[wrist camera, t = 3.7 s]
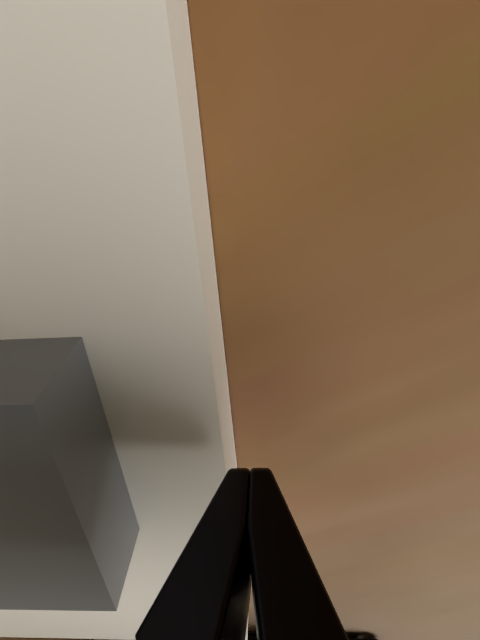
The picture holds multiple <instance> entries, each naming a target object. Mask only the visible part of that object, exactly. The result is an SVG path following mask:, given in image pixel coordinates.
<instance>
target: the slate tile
mask: <svg viewBox="0 0 480 640" xmlns="http://www.w3.org/2000/svg"><path fill="white" fill-rule="evenodd" d="M139 529H140V528H139V525H138V521H137V518H136V515H135V512H134V508H133V505H132V502H131V498H130V495H129V492H128V488H127V485H126V482H125V478H124V475H123V472H122V468H121V465H120V462H119V458H118V455H117V452H116V449H115V445H114V442H113V439H112V435H111V432H110V429H109V425H108V422H107V419H106V415H105V412H104V409H103V405H102V402H101V399H100V396H99V392H98V389H97V386H96V382H95V379H94V376H93V372H92V369H91V366H90V362H89V359H88V356H87V352H86V349H85V346H84V342H83V339H82V337H61V338H34V339H8V340H0V610H63V611H117V608H118V604H119V600H120V597H121V593H122V590H123V586H124V583H125V579H126V576H127V572H128V568H129V565H130V561H131V558H132V554H133V551H134V547H135V544H136V540H137V536H138V533H139Z"/></svg>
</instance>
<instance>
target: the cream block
mask: <svg viewBox="0 0 480 640" xmlns="http://www.w3.org/2000/svg"><path fill="white" fill-rule="evenodd" d="M61 337H82V339H83V342H84V346H85V349H86V352H87V356H88V359H89V362H90V366H91V369H92V372H93V376H94V379H95V382H96V386H97V389H98V392H99V396H100V399H101V402H102V405H103V409H104V412H105V415H106V419H107V422H108V425H109V429H110V432H111V435H112V439H113V442H114V445H115V449H116V452H117V455H118V458H119V462H120V465H121V468H122V472H123V475H124V478H125V482H126V485H127V488H128V492H129V495H130V498H131V502H132V505H133V508H134V512H135V515H136V518H137V521H138V525H139V528H140V529H139V533H138V536H137V540H136V544H135V547H134V551H133V554H132V558H131V561H130V565H129V568H128V572H127V576H126V579H125V583H124V586H123V590H122V593H121V597H120V600H119V604H118V608H117V611H63V610H0V637H24V638H71V639H118V640H136V639H135V634H136V632H137V631H138V629H139V627H140V625H141V623H142V622H143V620H144V618H145V616H146V615H147V613H148V611H149V609H150V608H151V606H152V604H153V602H154V601H155V599H156V597H157V595H158V593H159V592H160V590H161V588H162V586H163V585H164V583H165V581H166V579H167V578H168V576H169V574H170V572H171V570H172V569H173V567H174V565H175V563H176V562H177V560H178V558H179V556H180V555H181V553H182V551H183V549H184V547H185V546H186V544H187V542H188V540H189V539H190V537H191V535H192V533H193V532H194V530H195V528H196V526H197V525H198V523H199V521H200V519H201V517H202V516H203V514H204V512H205V510H206V509H207V507H208V505H209V503H210V502H211V500H212V498H213V496H214V494H215V493H216V491H217V489H218V487H219V486H220V484H221V482H222V480H223V479H224V477H225V475H226V473H227V472H228V470H229V469H231V468H237V462H236V452H235V443H234V434H233V425H232V415H231V406H230V397H229V388H228V378H227V369H226V360H225V351H224V341H223V332H222V323H221V314H220V304H219V295H218V286H217V277H216V267H215V258H214V249H213V240H212V230H211V221H210V212H209V203H208V193H207V184H206V175H205V166H204V156H203V147H202V138H201V129H200V119H199V110H198V101H197V92H196V82H195V73H194V64H193V54H192V45H191V36H190V27H189V17H188V8H187V0H0V340H8V339H34V338H61ZM245 640H248V619H247V628H246V637H245Z"/></svg>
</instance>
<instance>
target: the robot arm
mask: <svg viewBox="0 0 480 640" xmlns="http://www.w3.org/2000/svg"><path fill="white" fill-rule="evenodd" d="M251 580H252V592H253V603H254V612H255V622H256V631H257V636H248V640H377V639H360V638H348V637H347V635H346V632H345V630H344V628H343V626H342V624H341V621H340V619H339V617H338V615H337V613H336V611H335V608H334V606H333V604H332V602H331V600H330V598H329V595H328V593H327V591H326V589H325V587H324V584H323V582H322V580H321V578H320V576H319V574H318V571H317V569H316V567H315V565H314V563H313V560H312V558H311V556H310V554H309V552H308V550H307V547H306V545H305V543H304V541H303V539H302V536H301V534H300V532H299V530H298V528H297V526H296V523H295V521H294V519H293V517H292V515H291V512H290V510H289V508H288V506H287V504H286V502H285V499H284V497H283V495H282V493H281V491H280V488H279V486H278V484H277V482H276V480H275V478H274V475H273V473H272V471H271V470H270V469H269V468H252V469H251V470H250V471H249V469H247V468H231V469H229V470H228V472H227V473H226V475H225V477H224V479H223V480H222V482H221V484H220V486H219V487H218V489H217V491H216V493H215V494H214V496H213V498H212V500H211V502H210V503H209V505H208V507H207V509H206V510H205V512H204V514H203V516H202V517H201V519H200V521H199V523H198V525H197V526H196V528H195V530H194V532H193V533H192V535H191V537H190V539H189V540H188V542H187V544H186V546H185V547H184V549H183V551H182V553H181V555H180V556H179V558H178V560H177V562H176V563H175V565H174V567H173V569H172V570H171V572H170V574H169V576H168V578H167V579H166V581H165V583H164V585H163V586H162V588H161V590H160V592H159V593H158V595H157V597H156V599H155V601H154V602H153V604H152V606H151V608H150V609H149V611H148V613H147V615H146V616H145V618H144V620H143V622H142V623H141V625H140V627H139V629H138V631H137V632H136V634H135V639H136V640H245V637H246V628H247V619H248V611H249V602H250V592H251Z"/></svg>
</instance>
